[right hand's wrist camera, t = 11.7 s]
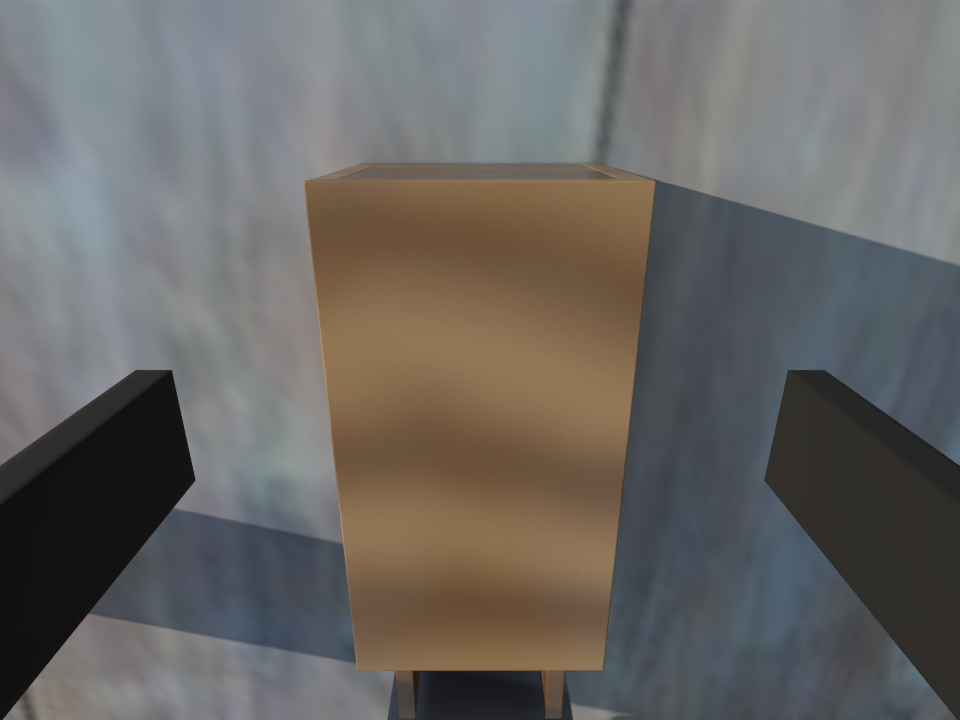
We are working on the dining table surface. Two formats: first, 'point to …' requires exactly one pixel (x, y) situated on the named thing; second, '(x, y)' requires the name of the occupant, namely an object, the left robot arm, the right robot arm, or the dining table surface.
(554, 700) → the drawer
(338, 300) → the cabinet
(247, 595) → the dining table surface
